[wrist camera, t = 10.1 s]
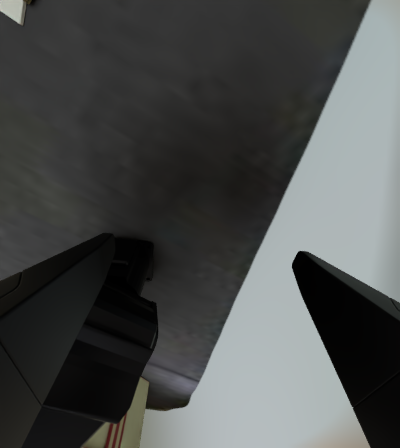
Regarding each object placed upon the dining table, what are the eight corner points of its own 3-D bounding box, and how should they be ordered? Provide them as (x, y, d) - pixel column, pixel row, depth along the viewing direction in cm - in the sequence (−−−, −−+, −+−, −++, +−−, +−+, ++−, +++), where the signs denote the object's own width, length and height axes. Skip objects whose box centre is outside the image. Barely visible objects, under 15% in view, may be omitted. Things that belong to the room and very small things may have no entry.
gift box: (110, 402, 47) (72, 535, 32) (47, 372, 39) (-44, 531, 24) (167, 383, 43) (154, 524, 28) (109, 346, 35) (49, 515, 20)
